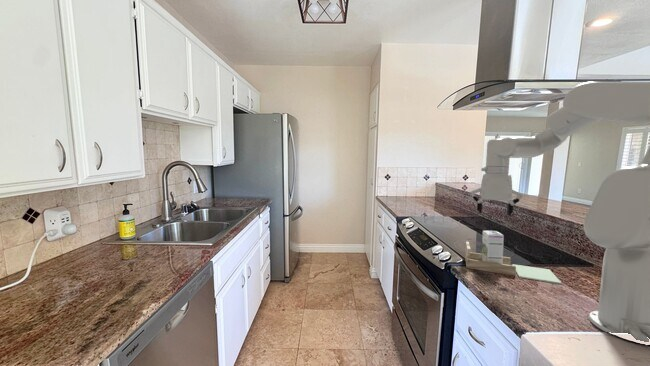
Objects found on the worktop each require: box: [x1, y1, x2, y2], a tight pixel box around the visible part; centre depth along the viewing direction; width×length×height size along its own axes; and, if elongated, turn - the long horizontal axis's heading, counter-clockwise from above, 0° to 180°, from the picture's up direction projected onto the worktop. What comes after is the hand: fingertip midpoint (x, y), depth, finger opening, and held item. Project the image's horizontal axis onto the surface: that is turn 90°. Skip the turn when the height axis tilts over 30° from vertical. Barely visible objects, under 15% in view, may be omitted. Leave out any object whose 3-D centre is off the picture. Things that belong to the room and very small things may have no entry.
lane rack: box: [464, 241, 517, 276], centre depth 103 cm, size 10×16×8 cm, turn 64°
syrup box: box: [481, 230, 505, 264], centre depth 102 cm, size 6×6×14 cm
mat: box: [511, 263, 562, 285], centre depth 96 cm, size 12×12×1 cm
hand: (494, 213), depth 101 cm, fingers open, 9 cm apart
